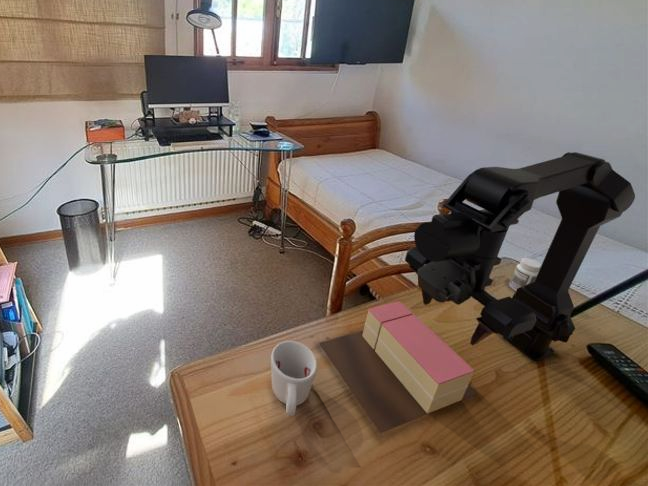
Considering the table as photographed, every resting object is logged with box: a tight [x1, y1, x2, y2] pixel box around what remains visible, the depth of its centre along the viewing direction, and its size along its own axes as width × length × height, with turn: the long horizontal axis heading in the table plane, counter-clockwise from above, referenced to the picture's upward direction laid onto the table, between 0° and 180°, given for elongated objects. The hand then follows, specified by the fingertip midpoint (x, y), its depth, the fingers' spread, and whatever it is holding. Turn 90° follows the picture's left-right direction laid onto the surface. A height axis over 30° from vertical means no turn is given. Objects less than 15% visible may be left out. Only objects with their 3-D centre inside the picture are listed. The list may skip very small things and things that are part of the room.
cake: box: [375, 314, 475, 415], centre depth 63 cm, size 8×13×8 cm, turn 18°
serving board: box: [318, 329, 478, 434], centre depth 66 cm, size 22×18×1 cm
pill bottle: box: [509, 257, 542, 292], centre depth 88 cm, size 5×5×8 cm
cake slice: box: [362, 300, 414, 349], centre depth 71 cm, size 8×4×8 cm, turn 109°
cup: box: [270, 340, 318, 417], centre depth 59 cm, size 11×8×8 cm
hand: (448, 322), depth 59 cm, fingers open, 9 cm apart
